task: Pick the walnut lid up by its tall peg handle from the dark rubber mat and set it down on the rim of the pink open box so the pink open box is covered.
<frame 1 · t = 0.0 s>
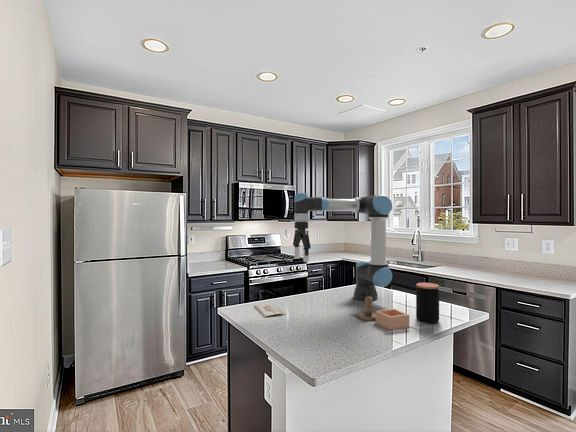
hand: (301, 260, 184), 28 cm above the countertop, fingers open, 13 cm apart
lid: (368, 316, 172), resting on mat
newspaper: (269, 312, 185), on the countertop
pink open box: (392, 325, 160), on the countertop
coffee jar: (427, 321, 167), on the countertop
mat: (368, 317, 172), on the countertop
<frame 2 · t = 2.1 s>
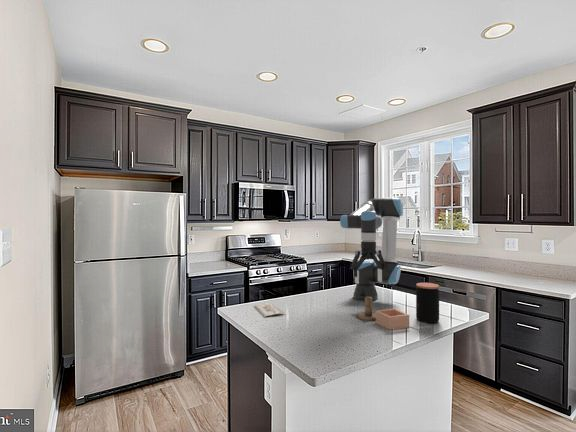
hand: (368, 282, 172), 18 cm above the countertop, fingers open, 13 cm apart
nothing on the countertop moved.
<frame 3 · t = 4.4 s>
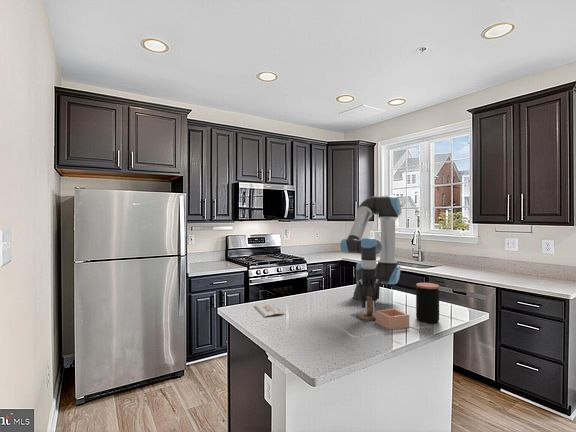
hand: (368, 313, 172), 2 cm above the countertop, fingers closed on lid, 4 cm apart
lid: (368, 316, 172), resting on mat, touching gripper
everything else where it was.
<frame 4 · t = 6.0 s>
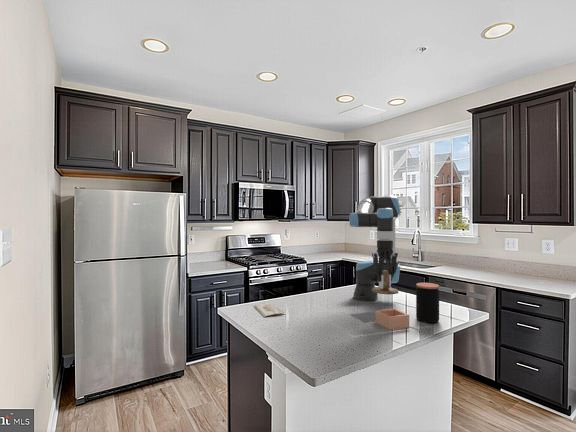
hand: (384, 287, 163), 17 cm above the countertop, fingers closed on lid, 4 cm apart
lid: (384, 291, 163), point 16 cm above the countertop, touching gripper
everything else where it was.
when the fingers open (9 cm above the countertop, at t = 7.8 s): lid drops 2 cm, resting on pink open box.
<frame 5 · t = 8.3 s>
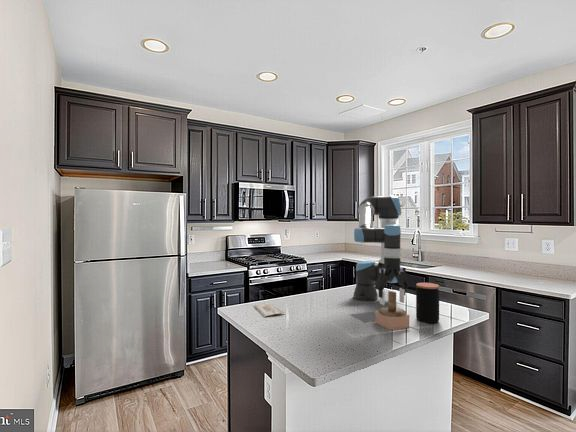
hand: (392, 303, 160), 11 cm above the countertop, fingers open, 10 cm apart
lid: (392, 312, 160), point 6 cm above the countertop, touching pink open box
everything else where it was.
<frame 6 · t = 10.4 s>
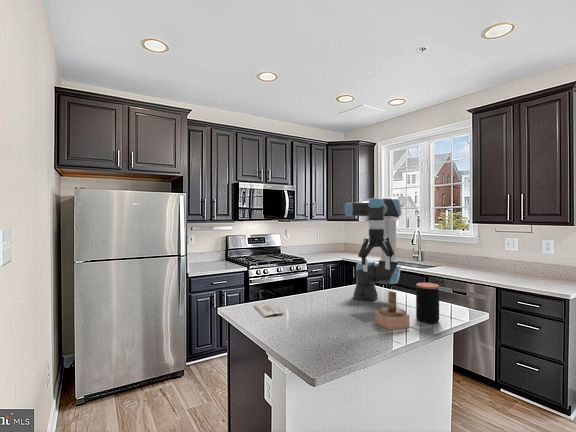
hand: (376, 270, 170), 25 cm above the countertop, fingers open, 13 cm apart
nothing on the countertop moved.
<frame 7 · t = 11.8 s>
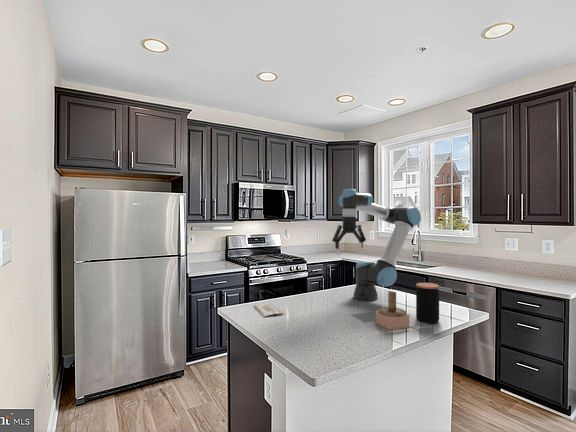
hand: (349, 254, 188), 31 cm above the countertop, fingers open, 13 cm apart
nothing on the countertop moved.
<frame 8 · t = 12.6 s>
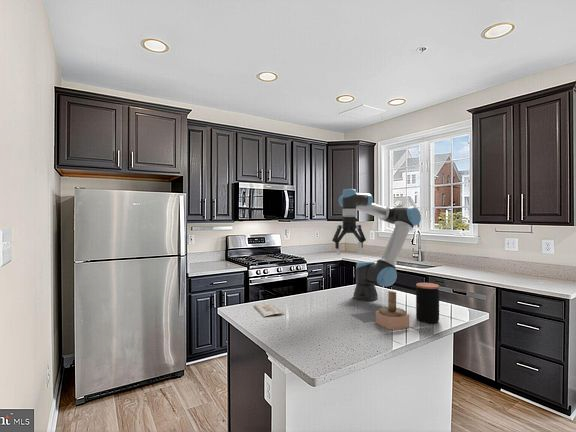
hand: (349, 254, 188), 31 cm above the countertop, fingers open, 13 cm apart
nothing on the countertop moved.
at the end: lid 0.1 cm off-centre on the pink open box, point 6.0 cm above the pink open box's base; lid tilted 0°; the gripper is holding nothing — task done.
